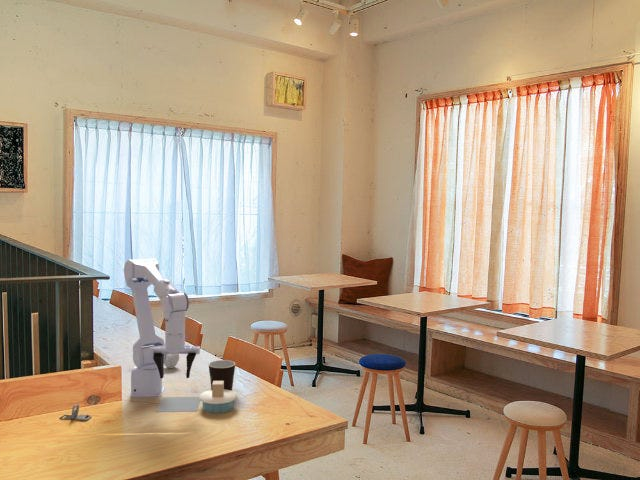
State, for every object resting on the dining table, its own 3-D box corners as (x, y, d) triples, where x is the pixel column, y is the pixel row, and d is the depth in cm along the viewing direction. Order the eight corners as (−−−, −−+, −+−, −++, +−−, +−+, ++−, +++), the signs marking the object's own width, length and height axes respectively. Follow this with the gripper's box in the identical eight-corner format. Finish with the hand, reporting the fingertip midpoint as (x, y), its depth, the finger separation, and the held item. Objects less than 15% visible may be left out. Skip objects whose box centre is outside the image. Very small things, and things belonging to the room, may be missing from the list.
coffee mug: (229, 399, 177) (229, 369, 176) (204, 397, 179) (204, 366, 178) (241, 387, 188) (242, 358, 188) (217, 385, 190) (218, 356, 189)
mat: (155, 413, 165) (155, 411, 165) (163, 398, 177) (163, 397, 177) (196, 412, 166) (196, 411, 166) (201, 397, 178) (201, 396, 178)
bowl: (201, 414, 165) (201, 402, 164) (204, 403, 174) (204, 392, 173) (231, 413, 166) (232, 402, 165) (233, 402, 174) (233, 391, 174)
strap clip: (92, 418, 161) (92, 404, 161) (86, 422, 158) (86, 407, 158) (64, 416, 162) (64, 402, 161) (58, 420, 159) (58, 406, 158)
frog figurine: (182, 365, 211) (182, 347, 211) (175, 370, 205) (175, 352, 204) (166, 364, 212) (166, 346, 212) (159, 370, 205) (159, 351, 205)
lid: (197, 404, 163) (197, 388, 163) (201, 391, 174) (201, 376, 174) (235, 403, 164) (235, 388, 164) (237, 390, 175) (237, 376, 175)
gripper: (147, 336, 162) (147, 381, 163) (198, 336, 163) (197, 381, 165) (152, 330, 169) (152, 374, 170) (200, 330, 170) (200, 373, 172)
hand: (174, 377), depth 168 cm, fingers open, 7 cm apart
